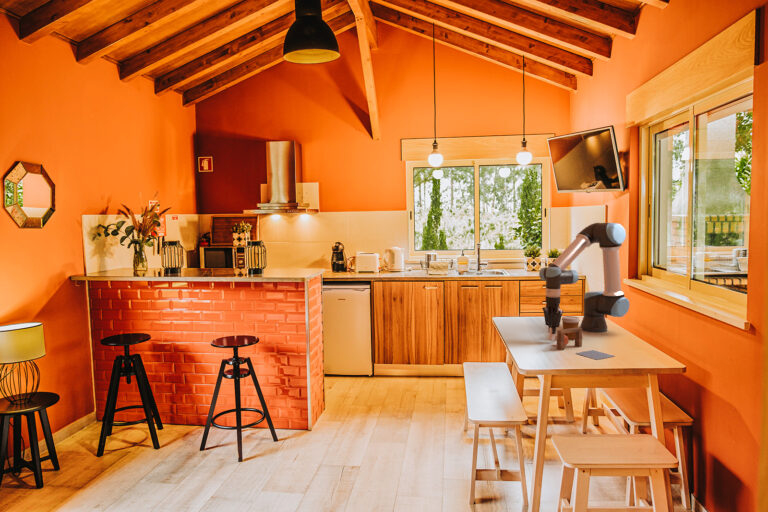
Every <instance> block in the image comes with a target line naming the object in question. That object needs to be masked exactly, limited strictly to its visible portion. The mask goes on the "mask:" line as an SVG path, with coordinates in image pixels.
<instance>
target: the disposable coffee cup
mask: <svg viewBox="0 0 768 512" xmlns="http://www.w3.org/2000/svg"><path fill="white" fill-rule="evenodd" d="M561 321H562V330H563V329H570V328H577V327H578V328H579V323H580V321H581V320H580V318H579V317H578V316H572V315H569V316H568V315H565V316H561ZM564 335H566V336H567V337H568V339H569V341H575V332H571V333H564Z"/></svg>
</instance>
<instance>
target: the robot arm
mask: <svg viewBox="0 0 768 512" xmlns="http://www.w3.org/2000/svg"><path fill="white" fill-rule="evenodd" d="M626 232H627V231H626V229H625V228H624V226H622V224H621V223H616V222H594V223H591V224H589V225H587V226H585V227H584V228H583V229H582V230H581V231H579V232H578V233H577V235H576V236H575V238H574V240H573V241H572V242H571V243H570V244H569V245H568V246H567V247H566V248H565V249H564V250H563V251H562V252H561V254H560V255H558V257H556V258H555V259H554V261H552V263H550V265H548V267H542V268H541V269H540V271H539V275H538V276H539V278H540V280H542V281H545V306H544V307H542V309H541V310H542V311H543V316H544V323H545V326H547V327H548V334H549V335H548V340H550V341H554V340H556V335H557V328H560V325H561V324H560V323H561V321H562V317H563V313H564V310H562V309H561V308H560V304H561V297H560V296H561V289H562V288H561V286H562V285H573V284H576V283H578V281H579V279H580V278H579V277H580V276H579V273H578V271H577V270H574V269H572V270H571V269H566V268H568V267H569V266H570V265H571V263H572V262H573V261H574V260H575V259H576V258H578V256H579V255H580V254H581V253H583V251H584V250H585V249H586V248H589V247H591V246H592V244H596V243H597V244H599V246H598V247H599V248H600V249H601V250H602V264H603V265H602V266H603V281H604V282H603V284H604V290H603V291H601V290H600V291H599V290H598V291H587V292H585V293H584V298H583V318H582V320H581V323H580V327H579V328H582V331H585V332H593V333H604V332H608V325H607V321H606V319H605V318H606V317H605V316H609V317H613V318H622V317H624V316H626V314H627V313H628V312H629V309H630V305H631V304H630V300H629V299H628V298H626V297H625V292H624V291H622V283H621V265H620V248H621V247H622V244H623V243H624V242H625V239H626V238H627V233H626Z"/></svg>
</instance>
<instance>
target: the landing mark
mask: <svg viewBox="0 0 768 512" xmlns="http://www.w3.org/2000/svg"><path fill="white" fill-rule="evenodd" d="M575 353H576V354H575V355H578V354H579V355H578V356H581V355H582V357H585V358H588V357H589V359H592V360H596V361H598V359H599V360H604V358H605V359H609V358H608V357H610V358H615V357H614V356H615V355H613V354H609V353H605V352H602V351H598V350H594V349H592V350H591V349H590V350H586V351H580V352H575Z"/></svg>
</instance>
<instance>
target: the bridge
mask: <svg viewBox="0 0 768 512" xmlns="http://www.w3.org/2000/svg"><path fill="white" fill-rule="evenodd" d="M571 332H575V340H574V347H577V346H578V347H577V348H582V347H583V330H582V328H580V327H579V326H578V327H577V328H570V329H563V328H562V329H556V350H559V351H563V350H565V346H564V333H571Z"/></svg>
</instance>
